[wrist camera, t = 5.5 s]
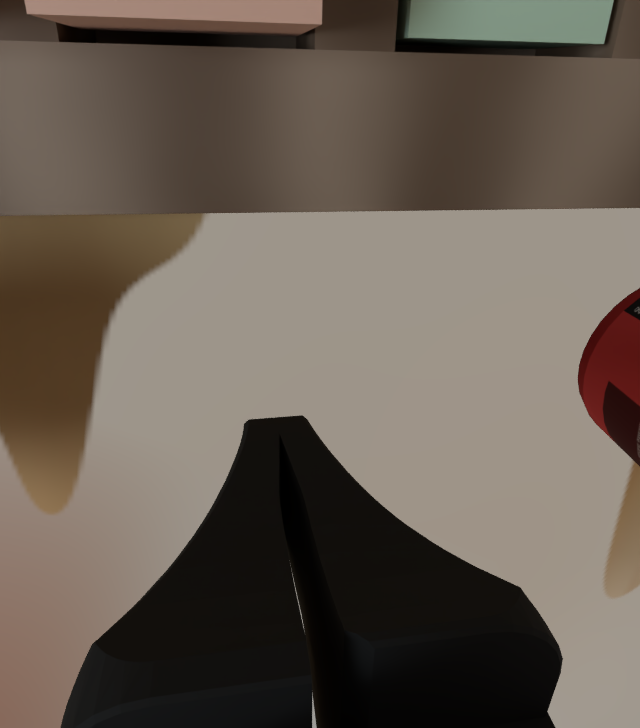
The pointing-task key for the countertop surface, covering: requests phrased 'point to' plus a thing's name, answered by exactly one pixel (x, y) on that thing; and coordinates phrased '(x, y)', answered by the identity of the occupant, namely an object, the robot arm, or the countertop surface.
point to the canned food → (615, 375)
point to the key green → (502, 23)
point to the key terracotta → (184, 15)
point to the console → (312, 119)
